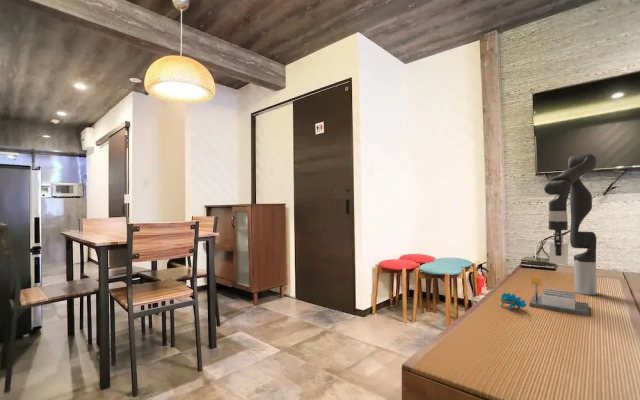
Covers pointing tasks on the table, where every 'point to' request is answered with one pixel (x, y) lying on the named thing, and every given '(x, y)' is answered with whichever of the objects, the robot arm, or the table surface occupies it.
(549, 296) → the rack
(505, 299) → the blue bumpy plastic figure
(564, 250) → the block
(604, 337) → the table surface
